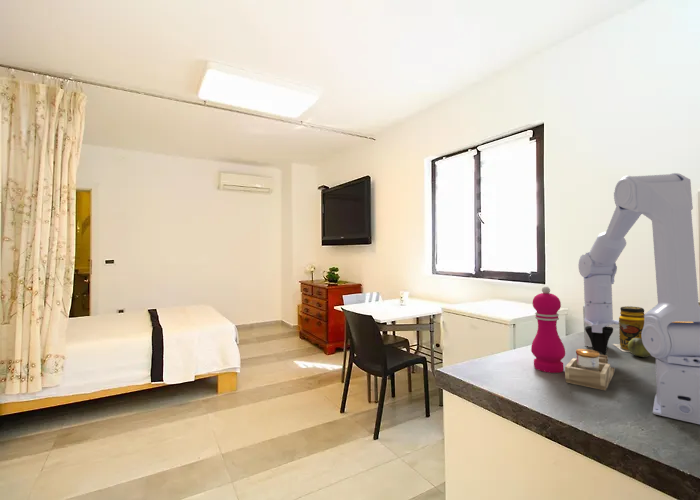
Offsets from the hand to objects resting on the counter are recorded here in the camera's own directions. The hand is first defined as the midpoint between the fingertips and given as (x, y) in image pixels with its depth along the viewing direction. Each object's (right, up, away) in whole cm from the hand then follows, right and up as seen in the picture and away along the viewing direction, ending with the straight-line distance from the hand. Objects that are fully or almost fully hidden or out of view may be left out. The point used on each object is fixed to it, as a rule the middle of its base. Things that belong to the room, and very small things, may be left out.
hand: (600, 356), depth 87 cm
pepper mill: (-15, -2, -3) cm, 15 cm away
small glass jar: (-11, -1, -12) cm, 16 cm away
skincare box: (+10, -2, +16) cm, 19 cm away
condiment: (+18, -2, +11) cm, 21 cm away
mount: (-9, -2, -9) cm, 13 cm away
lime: (+14, -2, +4) cm, 14 cm away
